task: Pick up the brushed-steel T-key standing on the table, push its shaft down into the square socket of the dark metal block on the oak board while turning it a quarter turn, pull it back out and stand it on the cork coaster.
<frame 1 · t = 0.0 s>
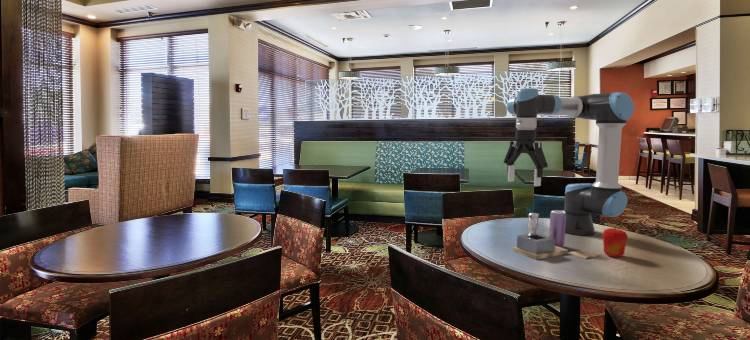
hand: (523, 183, 161), 28 cm above the table, fingers open, 13 cm apart
oak board: (539, 252, 165), on the table
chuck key: (532, 241, 180), on the table
cork coaster: (583, 255, 162), on the table
beverage can: (556, 247, 173), on the table
socket block: (535, 249, 164), resting on oak board
apple: (613, 256, 161), on the table
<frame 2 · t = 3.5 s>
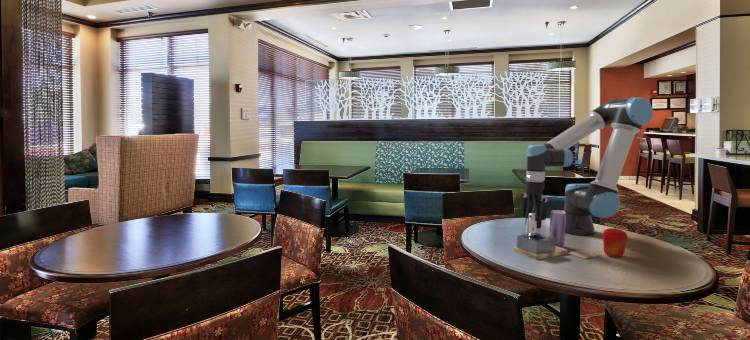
hand: (532, 233, 179), 4 cm above the table, fingers closed on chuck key, 4 cm apart
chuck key: (532, 241, 180), on the table, touching gripper
everything else where it was.
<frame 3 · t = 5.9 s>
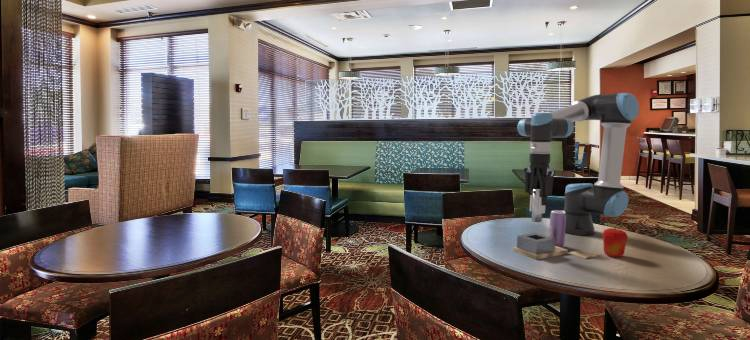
hand: (537, 211, 162), 17 cm above the table, fingers closed on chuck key, 4 cm apart
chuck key: (536, 221, 163), point 13 cm above the table, touching gripper
everything else where it was.
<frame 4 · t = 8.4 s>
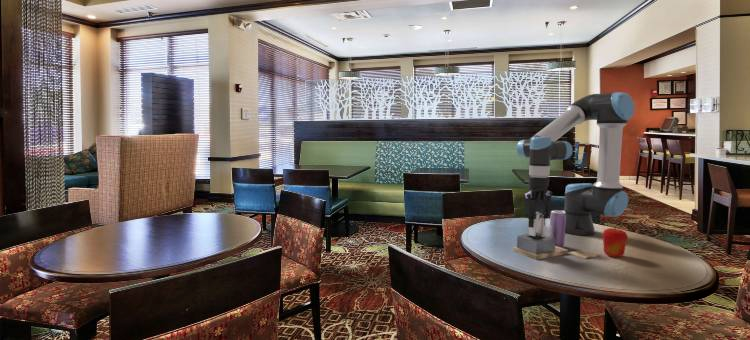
hand: (536, 234, 164), 8 cm above the table, fingers closed on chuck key, 4 cm apart
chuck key: (535, 243, 164), point 4 cm above the table, touching gripper
everything else where it was.
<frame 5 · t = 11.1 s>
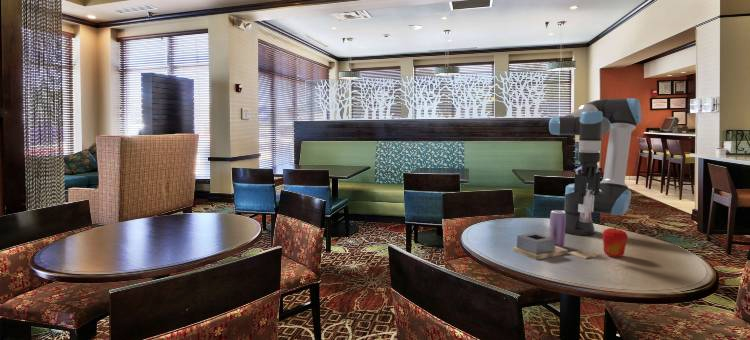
hand: (585, 211, 160), 17 cm above the table, fingers closed on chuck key, 4 cm apart
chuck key: (585, 221, 160), point 14 cm above the table, touching gripper
everything else where it was.
when the fingers open (5 cm above the table, at t = 13.5 s): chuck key stays where it is, resting on cork coaster.
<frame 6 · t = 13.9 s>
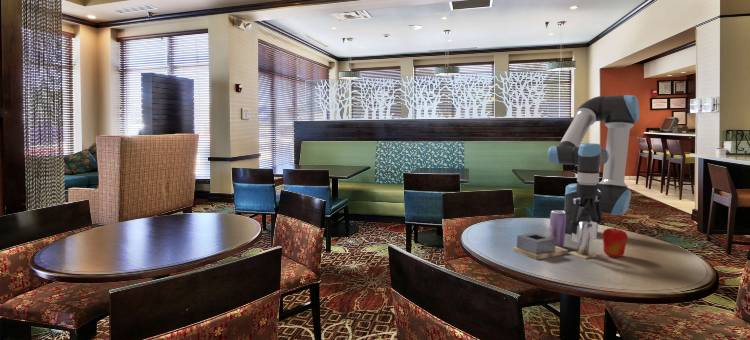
hand: (584, 239, 161), 6 cm above the table, fingers open, 9 cm apart
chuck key: (583, 253, 162), point 1 cm above the table, touching cork coaster
everything else where it was.
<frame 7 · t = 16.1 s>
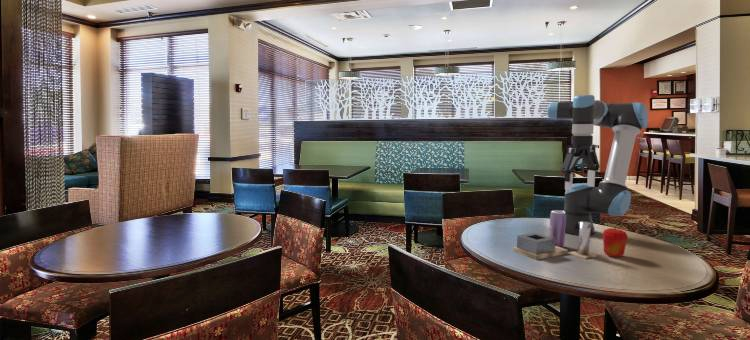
hand: (579, 188, 165), 26 cm above the table, fingers open, 13 cm apart
nothing on the table moved.
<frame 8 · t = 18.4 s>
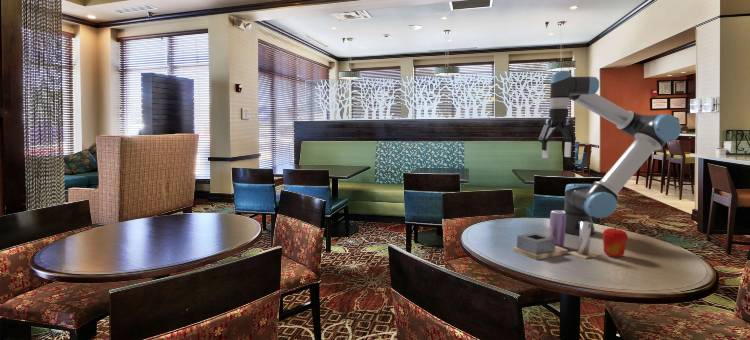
hand: (556, 157, 180), 37 cm above the table, fingers open, 13 cm apart
nothing on the table moved.
at the end: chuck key inside the target area on the cork coaster (0.0 cm from its centre), point 0.6 cm above the cork coaster's base; the gripper is holding nothing; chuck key touching cork coaster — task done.
